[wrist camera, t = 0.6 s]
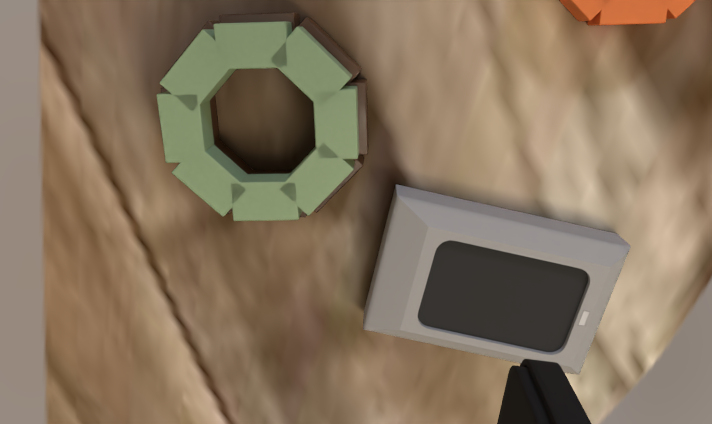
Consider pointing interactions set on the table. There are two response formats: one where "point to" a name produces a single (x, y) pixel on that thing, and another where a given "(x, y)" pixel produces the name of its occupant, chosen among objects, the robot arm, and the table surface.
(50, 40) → the table surface
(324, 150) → the green ring
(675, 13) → the terracotta ring
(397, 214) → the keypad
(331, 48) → the walnut ring
